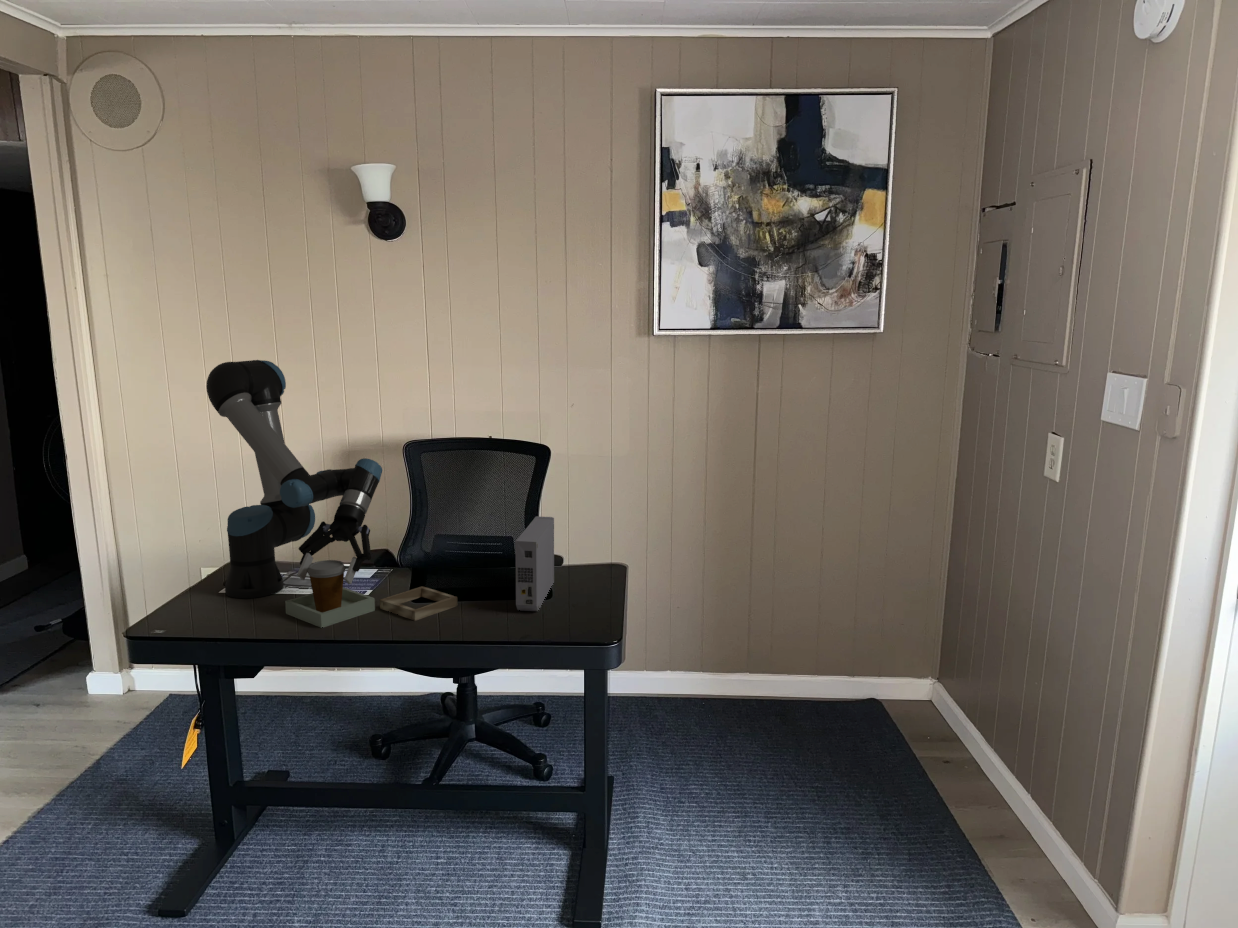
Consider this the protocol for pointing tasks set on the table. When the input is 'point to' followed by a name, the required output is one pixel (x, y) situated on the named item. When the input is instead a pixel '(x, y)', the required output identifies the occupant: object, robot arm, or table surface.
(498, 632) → the table surface
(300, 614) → the tray
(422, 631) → the table surface
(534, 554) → the game console
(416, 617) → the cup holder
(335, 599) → the disposable coffee cup
